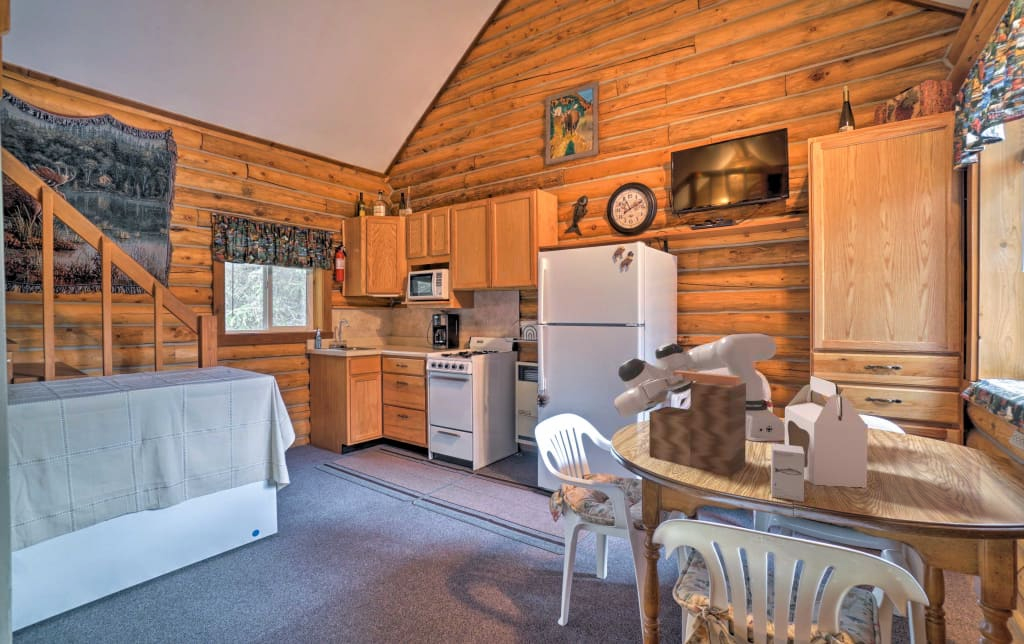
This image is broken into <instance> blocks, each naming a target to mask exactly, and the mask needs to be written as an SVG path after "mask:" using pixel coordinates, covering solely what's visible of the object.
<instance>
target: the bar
mask: <svg viewBox="0 0 1024 644" xmlns="http://www.w3.org/2000/svg"><path fill="white" fill-rule="evenodd" d="M678 374H683V376H684V379H682V380H686V381H693V382H705V383H714V384H723V385H732V386H738V385H741V376H733V375H729V374H721V373H708V372H702V371H693V372H691V371H690V370H689V371H679V370H677V371H673V377H674V376H676V375H678Z"/></svg>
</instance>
